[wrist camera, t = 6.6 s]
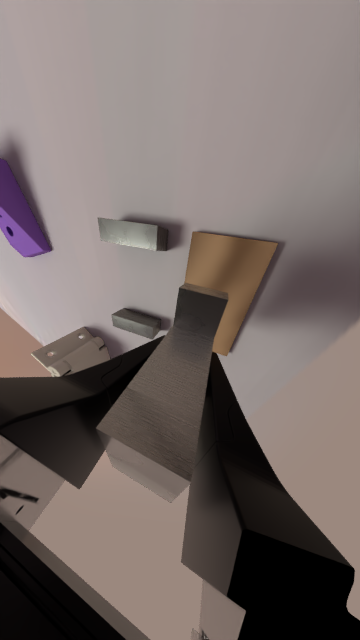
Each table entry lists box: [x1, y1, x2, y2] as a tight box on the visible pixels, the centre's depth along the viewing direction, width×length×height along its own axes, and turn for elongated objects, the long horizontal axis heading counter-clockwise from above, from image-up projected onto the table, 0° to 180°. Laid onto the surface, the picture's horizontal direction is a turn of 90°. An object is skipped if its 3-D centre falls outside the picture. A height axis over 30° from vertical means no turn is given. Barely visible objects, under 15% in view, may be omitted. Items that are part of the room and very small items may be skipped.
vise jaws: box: [98, 218, 168, 339], centre depth 20 cm, size 8×16×3 cm, turn 172°
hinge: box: [31, 327, 110, 377], centre depth 29 cm, size 14×5×10 cm, turn 12°
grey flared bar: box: [96, 283, 228, 503], centre depth 7 cm, size 3×8×8 cm, turn 171°
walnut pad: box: [184, 232, 278, 356], centre depth 18 cm, size 9×16×1 cm, turn 172°
